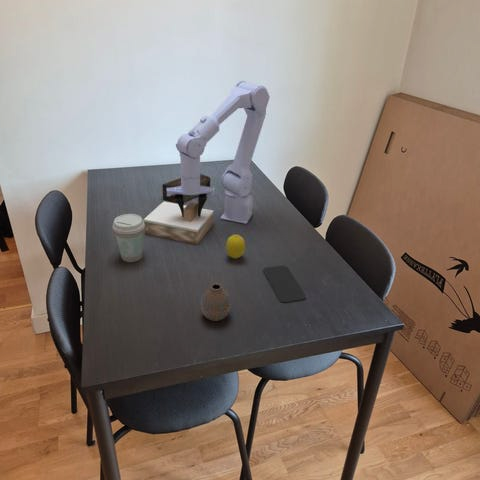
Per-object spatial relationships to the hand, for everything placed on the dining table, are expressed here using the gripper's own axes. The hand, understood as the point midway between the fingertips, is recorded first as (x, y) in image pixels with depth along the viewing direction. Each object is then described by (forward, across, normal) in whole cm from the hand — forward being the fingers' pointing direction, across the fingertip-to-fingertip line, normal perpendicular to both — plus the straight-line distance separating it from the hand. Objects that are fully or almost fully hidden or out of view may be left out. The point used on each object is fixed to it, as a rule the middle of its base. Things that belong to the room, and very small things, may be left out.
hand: (191, 215), depth 123 cm
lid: (+1, +4, -2) cm, 4 cm away
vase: (+6, -3, +41) cm, 41 cm away
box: (+6, +4, -2) cm, 7 cm away
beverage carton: (+6, 0, -28) cm, 29 cm away
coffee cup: (+6, +18, +14) cm, 23 cm away
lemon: (+6, -12, +17) cm, 21 cm away
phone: (+6, -23, +30) cm, 38 cm away
